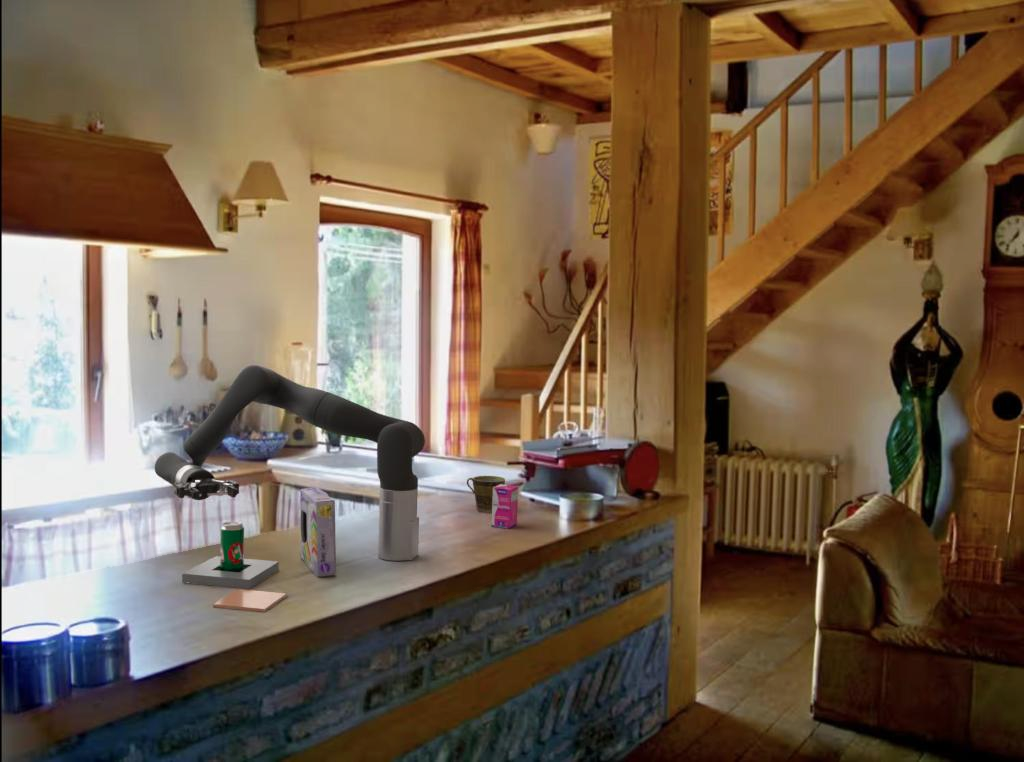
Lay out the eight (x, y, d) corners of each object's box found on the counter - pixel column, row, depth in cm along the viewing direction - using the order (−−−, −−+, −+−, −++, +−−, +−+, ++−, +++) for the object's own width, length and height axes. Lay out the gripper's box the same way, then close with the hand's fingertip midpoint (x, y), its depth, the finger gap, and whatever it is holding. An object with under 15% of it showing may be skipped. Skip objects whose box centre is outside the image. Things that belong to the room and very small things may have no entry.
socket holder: (278, 570, 229) (278, 561, 228) (249, 588, 213) (249, 579, 213) (215, 564, 231) (215, 556, 231) (182, 582, 216) (182, 573, 216)
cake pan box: (297, 557, 240) (299, 485, 239) (318, 556, 242) (320, 484, 241) (314, 579, 223) (316, 501, 221) (336, 577, 225) (338, 500, 223)
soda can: (222, 573, 225) (223, 520, 224) (245, 573, 225) (246, 521, 224) (217, 579, 220) (218, 525, 219) (241, 579, 220) (242, 526, 219)
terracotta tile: (286, 596, 209) (286, 593, 209) (264, 611, 198) (264, 609, 198) (237, 591, 211) (237, 588, 211) (213, 607, 200) (213, 604, 200)
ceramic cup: (510, 510, 304) (511, 478, 303) (492, 516, 295) (493, 482, 294) (475, 504, 310) (476, 473, 310) (456, 509, 302) (457, 477, 301)
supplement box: (490, 527, 281) (492, 487, 280) (498, 523, 286) (500, 483, 285) (509, 529, 279) (511, 489, 278) (517, 525, 284) (518, 485, 283)
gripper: (165, 468, 239) (185, 480, 226) (224, 465, 247) (246, 476, 234) (165, 499, 239) (185, 512, 226) (223, 494, 248) (245, 507, 234)
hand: (216, 494), depth 230 cm, fingers open, 8 cm apart
